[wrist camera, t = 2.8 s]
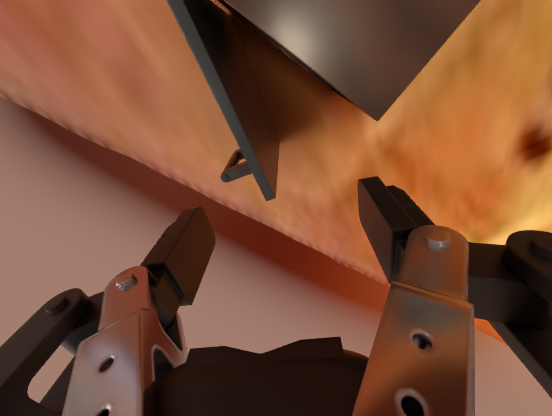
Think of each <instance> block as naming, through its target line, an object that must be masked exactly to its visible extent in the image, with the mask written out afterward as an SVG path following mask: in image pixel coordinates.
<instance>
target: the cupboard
mask: <svg viewBox="0 0 552 416" xmlns="http://www.w3.org/2000/svg"><path fill="white" fill-rule="evenodd" d="M217 1H218V2H219V3H220V4H221V5H223V6H224V7H225V8H226V9H227V10H228V11H230V12H231V13H232V14H233V15H235V16H236V17H237V18H239V19H240V20H241V21H242V22H244V23H245V24H246V25H248V26H249V27H250V28H251V29H253V30H254V31H255V32H257V33H258V34H259V35H260V36H262V37H263V38H264V39H266V40H267V41H268V42H269V43H271V44H272V45H273V46H275V47H276V48H277V49H278V50H280V51H281V52H282V53H284V54H285V55H286V56H287V57H289V58H290V59H291V60H292V61H294V62H295V63H296V64H298V65H299V66H300V67H301V68H303V69H304V70H305V71H307V72H308V73H309V74H310V75H312V76H313V77H314V78H316V79H317V80H318V81H319V82H321V83H322V84H323V85H325V86H326V87H327V88H328V89H330V90H331V91H332V92H334V93H335V94H336V95H338V96H339V97H341V98H342V99H344V100H346V101H347V102H349V103H350V104H352V105H353V106H355V107H356V108H358V109H359V110H361V111H362V112H364V113H365V114H367V115H368V116H370V117H371V118H373V119H374V120H376V121H378V120H379V119H380V118H381V117H382V116H383V115H384V113H385V112H386V111H387V110H388V109H389V108H390V106H391V105H392V104H393V103H394V102H395V100H396V99H397V98H398V97H399V96H400V95H401V93H402V92H403V91H404V90H405V89H406V88H407V86H408V85H409V84H410V83H411V82H412V80H413V79H414V78H415V77H416V76H417V75H418V73H419V72H420V71H421V70H422V69H423V68H424V66H425V65H426V64H427V63H428V62H429V60H430V59H431V58H432V57H433V56H434V55H435V53H436V52H437V51H438V50H439V49H440V48H441V46H442V45H443V44H444V43H445V42H446V40H447V39H448V38H449V37H450V36H451V35H452V33H453V32H454V31H455V30H456V29H457V28H458V26H459V25H460V24H461V23H462V22H463V20H464V19H465V18H466V17H467V16H468V15H469V13H470V12H471V11H472V10H473V9H474V8H475V6H476V5H477V4H478V3H479V2H480V1H481V0H217Z"/></svg>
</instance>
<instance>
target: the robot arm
mask: <svg viewBox="0 0 552 416" xmlns="http://www.w3.org/2000/svg"><path fill="white" fill-rule="evenodd" d="M358 205H359V217H360V221H361V224H362V226H363V228H364V230H365V233H366V235H367V237H368V239H369V241H370V243H371V246H372V248H373V250H374V252H375V254H376V256H377V258H378V261H379V263H380V265H381V267H382V269H383V271H384V274H385V276H386V278H387V280H388V282H389V284H391V287H390V290H389V293H388V297H387V300H386V303H385V307H384V310H383V313H382V317H381V320H380V323H379V327H378V330H377V333H376V337H375V340H374V343H373V347H372V350H371V353H370V357H369V358H368V357H366V356H364V355H361V354H359V353H356V352H353V351H349V350H344V349H343V348H342V343H341V338H340V337H330V338H318V339H305V340H299V341H296V342H293V343H290V344H288V345H285V346H282V347H280V348H276V349H274V350H271V351H268V352H265V353H261V354H259V353H253V352H249V351H244V350H240V349H236V348H231V347H227V346H219V347H206V348H194V349H190V351H189V354H188V351H187V346H186V341H185V337H184V332H183V326H182V322H181V318H180V315H179V314H178V312H177V311H178V308H179V306H185V305H192V303H193V301H194V298H195V295H196V293H197V290H198V288H199V285H200V283H201V280H202V277H203V275H204V272H205V270H206V267H207V264H208V262H209V259H210V257H211V254H212V252H213V249H214V246H215V234H214V232H213V229H212V227H211V225H210V223H209V220H208V218H207V216H206V214H205V212H204V210H203V208H201V207H195V208H190V209H184V210H183V211H182V213H181V214H180V216H179V217H178V218H177V220H176V221H175V222H174V223H173V224H172V225H170V226H169V227H168V228H167V229H166V230H165V232H164V233H163V234H162V236H161V238H159V240H158V241H157V243H156V245H154V247H153V248H152V250H151V251H150V252H149V254H148V255H147V256H146V258H145V259H144V261H143V262H142V263H141V265H140V266H135V267H132V268H129V269H127V270H125V271H123V272H121V273H120V274H118V275H117V276H116V277H115V278H113V279H112V281H110V283H109V284H108V285H107V287H106V288H105V291H103V292H101V293H98V294H95V295H93V296H90V297H88V296H87V295H86V294H85V293H83V291H82V290H81V289H78V288H74V289H70V290H67V291H64V292H62V293H60V294H58V295H57V296H55V297H54V298H52V299H51V300H49V301H48V302H47V303H45V304H44V305H43V306H42V307H41V308H40V309H39V310H38V311H37V312H36V313H35V314H34V315H33V316H32V317H31V318H30V319H29V320H28V321H27V322H26V323H25V324H24V325H23V326H21V327H20V328H19V329H18V330H17V331H16V332H15V333H14V334H13V335H12V336H11V337H10V338H9V339H8V340H7V341H6V342H5V343H4V344H3V345H2V346H1V347H0V416H475V366H474V365H475V364H474V363H475V362H474V358H475V357H474V318H479V319H484V320H487V321H488V322H489V323H490V324H491V325H492V327H493V328H494V329H495V330H496V331H497V333H498V334H499V335H500V336H501V337H502V339H503V340H504V341H505V342H506V344H507V345H508V346H509V347H510V348H511V350H512V351H513V352H514V353H515V354H516V356H517V357H518V358H519V359H520V360H521V362H522V363H523V364H524V365H525V367H526V368H527V369H528V370H529V371H530V373H531V374H532V375H533V376H534V377H535V378H536V380H537V381H538V382H539V383H540V385H541V386H542V387H543V388H544V389H545V391H546V392H547V393H548V394H549V396H550V397H551V398H552V233H549V232H544V231H535V230H525V231H518V232H515V233H512V234H511V235H510V236H509V237H508V239H507V241H506V244H505V245H495V244H482V243H471V242H468V241H467V240H466V238H465V237H464V236H463V235H462V234H460V233H458V232H457V231H455V230H453V229H450V228H447V227H443V226H437V225H435V224H434V223H433V222H432V221H431V220H430V219H429V218H428V216H427V215H426V214H425V213H424V212H423V211H422V210H421V209H420V208H419V207H418V206H417V205H416V203H415V202H414V201H413V200H412V199H410V197H409V196H408V195H407V194H406V192H405V191H404V190H402V189H400V188H397V187H395V186H393V185H392V186H385V185H384V183H383V182H382V181H381V180H380V178H379V177H378V176H375V177H369V178H364V179H359V180H358ZM59 345H61V346H63V347H64V348H65V349H67V350H68V351H69V352H70V353H72V354H73V355H74V358H73V359H72V360H71V362H70V363H69V364H68V366H67V367H66V368H65V370H64V371H63V372H62V374H61V375H60V376H59V378H58V379H57V380H56V382H55V383H54V385H53V386H52V387H51V389H50V390H49V391H48V392H47V394H46V395H45V396H44V398H43V399H42V400H41V402H40V403H37V402H35V401H34V400H32V399H30V398H29V396H28V394H27V390H28V386H29V383H30V381H31V380H32V378H33V377H34V376H35V375H36V373H37V372H38V371H39V370H40V369H41V367H42V366H43V365H44V364H45V362H46V361H47V360H48V359H49V358H50V356H51V355H52V354H53V353H54V352H55V350H56V349H57V348H58V347H59Z"/></svg>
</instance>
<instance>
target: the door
mask: <svg viewBox="0 0 552 416" xmlns="http://www.w3.org/2000/svg"><path fill="white" fill-rule="evenodd" d="M167 2H168V4H169V6H170V8H171V10H172V12H173V14H174V16H175V18H176V20H177V22H178V24H179V26H180V28H181V30H182V32H183V34H184V36H185V38H186V40H187V42H188V44H189V46H190V48H191V50H192V52H193V54H194V56H195V58H196V60H197V62H198V64H199V66H200V69H201V71H202V73H203V75H204V77H205V79H206V81H207V83H208V85H209V87H210V89H211V91H212V93H213V95H214V97H215V99H216V101H217V103H218V105H219V107H220V109H221V111H222V113H223V115H224V117H225V119H226V121H227V123H228V125H229V127H230V129H231V131H232V133H233V135H234V137H235V139H236V141H237V143H238V145H239V147H240V149H238V150H236V151H234V153H233V155H232V156H231V158H230V160H229V162H228V164H227V165H226V167H225V169H224V171H223V172H222V174H221V180H222V181H223V182H230V181H233V180H235V179H238V178H241V177H243V176H246V175H249V174H251V173H253V175H254V177H255V179H256V181H257V183H258V185H259V188H260V190H261V192H262V194H263V196H264V198H265V200H266V201H269V200H272V199H274V198H276V186H277V172H278V159H279V145H280V142H279V139H278V137H277V134H276V132H275V129H274V127H273V124H272V122H271V119H270V117H269V114H268V112H267V109H266V107H265V104H264V102H263V99H262V97H261V94H260V92H259V89H258V87H257V84H256V82H255V79H254V77H253V74H252V72H251V69H250V67H249V65H248V62H247V60H246V57H245V55H244V52H243V50H242V47H241V45H240V42H239V40H238V37H237V35H236V32H235V30H234V27H233V25H232V22H231V20H230V17H229V15H228V14H227V13H225V12H224V11H223V10H222V9H220V8H219V7H218V6H217V5H215V4H214V3H213V2H212V1H210V0H167ZM244 158H245V159H246V161H245V162H243V163H240V164H238V163H239V161H240V160H241V159H244Z"/></svg>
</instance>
